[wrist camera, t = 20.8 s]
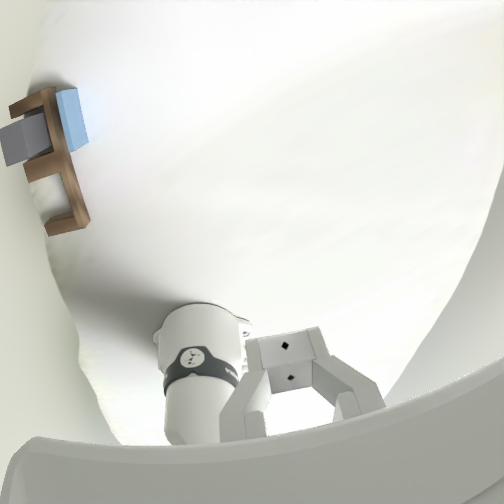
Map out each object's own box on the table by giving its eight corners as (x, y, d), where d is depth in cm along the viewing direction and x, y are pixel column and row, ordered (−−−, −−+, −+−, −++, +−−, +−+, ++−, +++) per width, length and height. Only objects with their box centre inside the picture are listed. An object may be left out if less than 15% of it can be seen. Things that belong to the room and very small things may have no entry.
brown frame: (109, 215, 42) (99, 232, 38) (54, 228, 42) (42, 245, 38) (75, 78, 31) (58, 79, 27) (17, 103, 31) (-2, 109, 26)
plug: (56, 142, 35) (28, 158, 28) (35, 149, 35) (6, 166, 28) (49, 110, 33) (20, 120, 26) (28, 118, 32) (-3, 130, 26)
